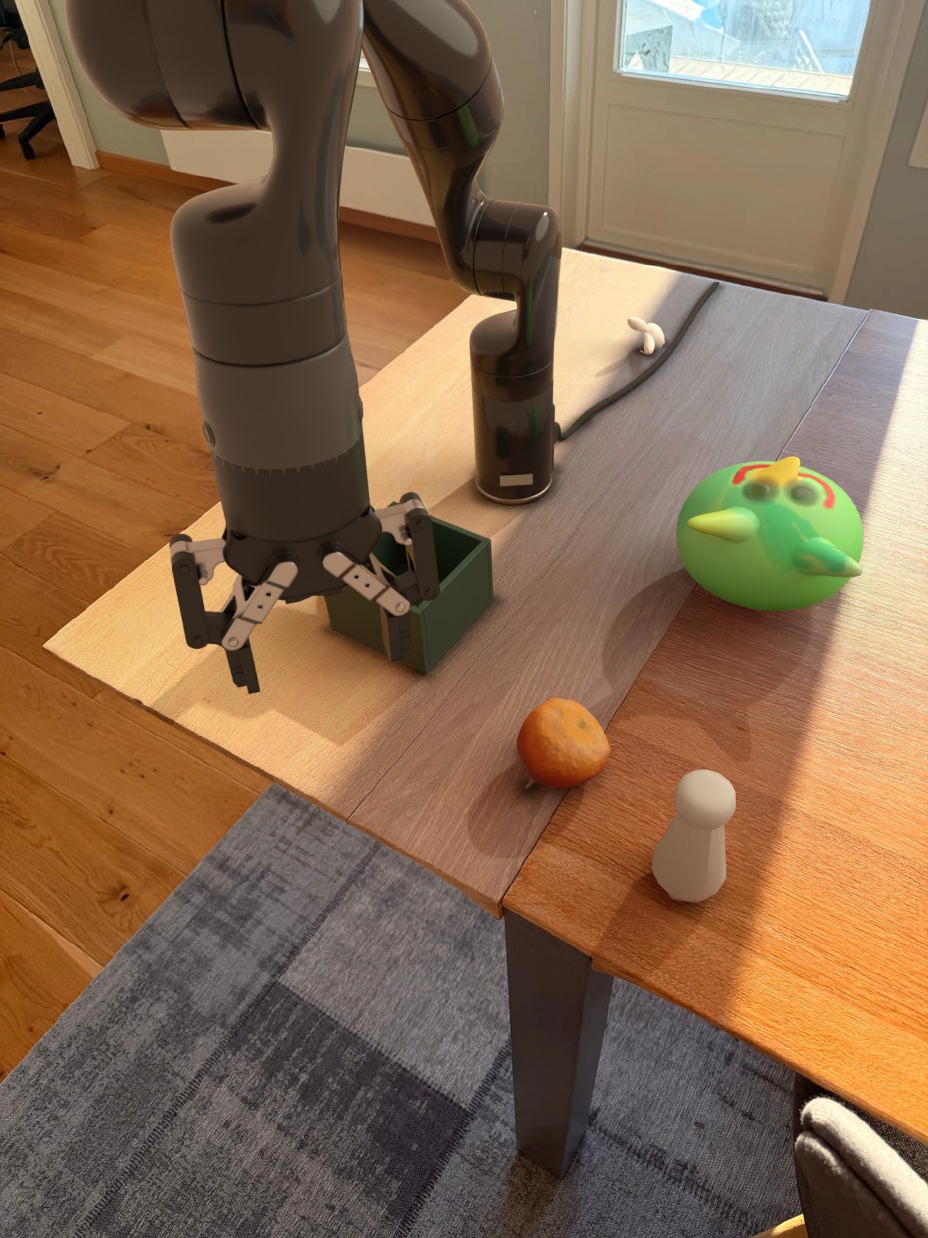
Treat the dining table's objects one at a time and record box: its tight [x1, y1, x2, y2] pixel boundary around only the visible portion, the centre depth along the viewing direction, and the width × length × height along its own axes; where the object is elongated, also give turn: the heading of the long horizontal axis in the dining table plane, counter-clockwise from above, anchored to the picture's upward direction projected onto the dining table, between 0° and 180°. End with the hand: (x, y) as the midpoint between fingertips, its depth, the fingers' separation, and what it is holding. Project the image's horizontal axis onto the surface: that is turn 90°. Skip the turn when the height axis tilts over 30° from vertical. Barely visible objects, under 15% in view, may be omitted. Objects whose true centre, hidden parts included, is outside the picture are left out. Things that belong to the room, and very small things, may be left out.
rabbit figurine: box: [626, 316, 666, 356], centre depth 130 cm, size 6×4×8 cm
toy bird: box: [675, 455, 865, 612], centre depth 91 cm, size 18×17×15 cm
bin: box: [323, 500, 494, 675], centre depth 93 cm, size 12×12×9 cm
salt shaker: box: [651, 769, 737, 904], centre depth 69 cm, size 6×6×13 cm
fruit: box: [516, 697, 612, 790], centre depth 79 cm, size 8×8×8 cm
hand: (323, 668), depth 54 cm, fingers open, 8 cm apart
